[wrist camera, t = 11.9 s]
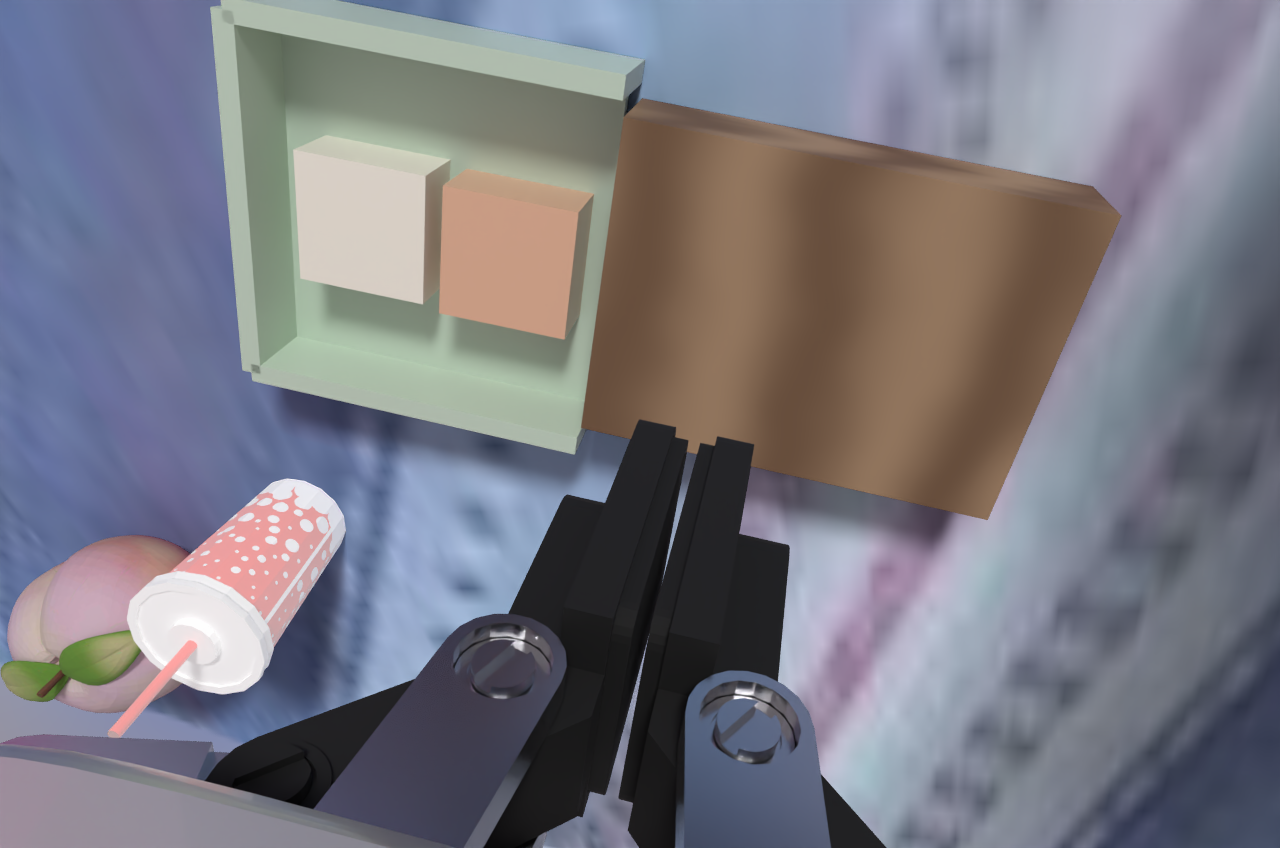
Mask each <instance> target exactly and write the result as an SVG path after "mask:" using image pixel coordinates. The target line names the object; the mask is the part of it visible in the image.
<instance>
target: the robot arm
mask: <svg viewBox="0 0 1280 848" xmlns="http://www.w3.org/2000/svg"><path fill="white" fill-rule="evenodd" d="M675 435H676V427H673V426H669V425H664V424H659V423H655V422H650V421H646V420H641V419H639V420H638V423H637V425H636V427H635V430H634V432H633V435H632V437H631V440H630V442H629V445H628V447H627V450H626V452H625V455H624V457H623V460H622V462H621V465H620V467H619V470H618V472H617V475H616V477H615V480H614V482H613V485H612V487H611V490H610V492H609V495H608V497H607V500H606V502H605V503H602V502H597V501H593V500H589V499H584V498H580V497H576V496H571V495H566V496H565V497H564V498H563V500H562V502H561V503H560V505H559V508H558V510H557V512H556V514H555V516H554V518H553V520H552V522H551V525H550V527H549V529H548V531H547V533H546V535H545V537H544V539H543V541H542V544H541V546H540V548H539V550H538V552H537V554H536V556H535V558H534V560H533V563H532V565H531V567H530V569H529V571H528V573H527V575H526V577H525V580H524V582H523V584H522V586H521V588H520V590H519V592H518V594H517V596H516V599H515V601H514V603H513V605H512V607H511V609H510V611H509V613H508V614H492V615H488V616H483V617H479V618H475V619H473V620H471V621H469V622H467V623H465V624H463V625H461V626H460V627H459V628H457V629H456V630H455V631H454V632H453V633H452V634H451V635H450V636H449V637H448V638H447V639H446V640H445V642H444V643H443V644H442V645H441V647H440V648H439V649H438V651H437V652H436V653H435V654H434V656H433V657H432V658H431V659H430V661H429V662H428V663H427V665H426V666H425V667H424V668H423V670H422V671H421V672H420V674H419V675H418V676H417V677H416V679H414V680H411V681H408V682H405V683H403V684H400V685H397V686H395V687H392V688H389V689H386V690H384V691H381V692H378V693H376V694H373V695H370V696H368V697H365V698H362V699H359V700H357V701H354V702H351V703H349V704H346V705H343V706H340V707H338V708H335V709H332V710H330V711H327V712H324V713H321V714H319V715H316V716H313V717H311V718H308V719H305V720H302V721H300V722H297V723H294V724H292V725H289V726H286V727H284V728H281V729H278V730H275V731H273V732H270V733H267V734H265V735H262V736H259V737H257V738H255V739H253V740H251V741H249V742H247V743H245V744H243V745H241V746H239V747H237V748H235V749H234V750H233V751H231V752H230V753H224V752H223V753H222V752H214V749H213V744H212V742H197V741H175V740H154V739H132V738H110V737H109V738H108V737H88V736H67V735H45V734H43V735H33V736H23V737H17V738H14V739H11V740H8V741H6V742H3V743H0V848H543V845H544V842H545V838H546V834H547V831H549V830H551V829H553V828H555V827H557V826H559V825H561V824H563V823H565V822H567V821H569V820H571V819H573V818H575V817H577V816H579V817H583V814H584V810H585V807H586V803H587V800H588V796H589V793H590V791H591V792H595V793H598V794H602V795H605V794H606V791H607V788H608V784H609V781H610V777H611V773H612V769H613V766H614V762H615V758H616V755H617V751H618V747H619V744H620V740H621V736H622V732H623V729H624V725H625V721H626V718H627V714H628V710H629V707H630V703H631V699H632V696H633V692H634V688H635V684H636V681H637V677H638V673H639V670H640V666H641V662H642V659H643V655H644V651H645V647H646V644H647V647H646V652H645V658H644V663H643V668H642V674H641V679H640V685H639V690H638V695H637V701H636V706H635V711H634V717H633V722H632V728H631V733H630V738H629V744H628V749H627V754H626V760H625V765H624V771H623V776H622V781H621V787H620V792H619V799H621V800H625V801H629V802H633V807H632V812H631V817H630V822H629V827H628V831H629V833H630V834H631V836H632V837H633V839H634V840H635V842H636V843H637V845H638V846H639V848H886V847H885V846H884V844H883V843H882V842H881V841H880V840H879V839H878V838H877V837H876V835H875V834H874V833H873V832H872V831H871V830H870V829H869V828H868V826H867V825H866V824H865V823H864V822H863V821H862V820H861V819H860V817H859V816H858V815H857V814H856V813H855V812H854V811H853V810H852V809H851V807H850V806H849V805H848V804H847V803H846V802H845V801H844V800H843V798H842V797H841V796H840V795H839V794H838V793H837V792H836V791H835V789H834V788H833V787H832V786H831V785H830V784H829V783H828V782H827V780H826V779H825V778H824V777H823V776H822V775H821V773H820V766H819V758H818V751H817V744H816V737H815V730H814V726H813V723H812V720H811V717H810V714H809V712H808V710H807V709H806V707H805V706H804V705H803V703H802V702H801V700H800V699H799V697H798V696H796V695H795V694H794V693H793V692H792V691H790V690H789V689H788V688H787V687H786V686H784V685H783V684H781V683H779V682H778V673H779V662H780V651H781V640H782V629H783V619H784V608H785V597H786V586H787V575H788V564H789V550H790V548H789V545H786V544H781V543H777V542H773V541H768V540H764V539H759V538H755V537H751V536H746V535H742V534H739V531H740V526H741V520H742V514H743V508H744V502H745V497H746V491H747V485H748V479H749V473H750V468H751V462H752V456H753V450H754V444H751V443H747V442H742V441H738V440H733V439H728V438H724V437H719V436H717V439H716V443H715V446H713V445H709V444H704V443H700V446H699V449H698V453H697V457H696V460H695V464H694V468H693V471H692V475H691V479H690V482H689V486H688V490H687V494H686V497H685V501H684V505H683V508H682V512H681V516H680V519H679V523H678V527H677V530H676V534H675V538H674V541H673V545H672V549H671V552H670V556H669V560H668V564H667V567H666V571H665V575H664V570H665V565H666V559H667V554H668V549H669V544H670V538H671V533H672V528H673V522H674V517H675V512H676V507H677V501H678V496H679V491H680V485H681V480H682V475H683V469H684V464H685V459H686V454H687V448H688V442H689V440H686V439H681V438H677V437H675ZM663 575H664V578H663ZM662 581H663V582H662ZM661 585H662V586H661ZM648 636H649V637H648ZM647 640H648V642H647Z"/></svg>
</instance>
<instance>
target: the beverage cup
mask: <svg viewBox="0 0 1280 848" xmlns="http://www.w3.org/2000/svg"><path fill="white" fill-rule="evenodd" d="M345 532H346V528H345V522H344V516H343V514H342V512H341V511H340V509H339V507H338V506H337V504H336V502H335V501H334V500H333V499H332V498H331V497H330V496H328V495H327V494H326V493H325V492H324V491H323V490H322V489H320V488H318V487H316V486H314V485H312V484H310V483H308V482H305V481H301V480H294V479H284V480H280V481H276V482H272V483H271V484H270V485H269V486H268V487H267V488H266V489H264V490H263V491H262V492H261V493H260V494H259V495H258V496H256V497H255V498H254V499H253V500H252V501H251V502H250V503H248V504H247V505H246V506H245V507H244V508H243V509H242V510H240V511H239V512H238V513H237V514H236V515H235V516H234V517H232V518H231V519H230V520H229V521H228V522H227V523H226V524H224V525H223V526H222V527H221V528H220V529H219V530H218V531H216V532H215V533H214V534H213V535H212V536H211V537H210V538H208V539H207V540H206V541H205V542H204V543H203V544H201V545H200V546H199V547H198V548H197V549H196V550H195V551H193V552H192V553H191V554H190V555H189V556H188V557H187V558H185V559H184V560H183V561H182V562H181V563H180V564H179V565H177V566H176V567H175V568H174V569H173V570H172V571H171V572H169V573H167V574H163V575H158V576H156V577H155V578H154V579H153V580H152V581H151V582H150V583H148V584H147V585H146V586H145V587H144V588H143V589H142V590H141V591H139V592H138V593H137V594H136V595H135V596H134V597H133V598H132V599H131V600H130V604H129V609H128V615H127V622H128V625H129V628H130V631H131V634H132V637H133V640H134V641H135V643H136V644H137V645H138V647H139V648H140V649H141V651H142V652H143V653H144V654H145V656H146V657H147V658H148V660H149V661H150V662H151V663H153V664H154V665H155V666H157V667H158V668H159V669H160V670H162V671H161V672H160V673H159V674H158V675H157V676H156V678H155V679H154V680H153V681H152V682H151V683H150V684H149V685H148V687H147V688H146V689H145V690H144V691H143V692H142V693H141V695H140V696H139V697H138V698H137V699H136V700H135V701H134V703H133V704H132V705H131V706H130V707H129V708H128V709H127V711H126V712H125V713H124V714H123V715H122V716H121V718H120V719H119V720H118V721H117V722H116V723H115V724H114V725H113V727H112V728H111V729H110V730H109V731H108V736H109V737H110V738H120V737H121V736H122V735H123V734H124V732H125V731H126V730H127V729H128V728H129V726H130V725H131V724H132V723H133V722H134V721H135V720H136V718H137V717H138V716H139V715H140V714H141V713H142V711H143V710H144V709H145V708H146V707H147V706H148V704H149V703H150V702H151V701H152V700H153V699H154V697H155V696H156V695H157V694H158V693H159V692H160V690H161V689H162V688H163V687H164V686H165V685H166V683H167V682H168V681H169V680H170V679H171V678H172V679H174V680H176V681H179V682H181V683H183V684H185V685H187V686H190V687H192V688H194V689H196V690H200V691H206V692H212V693H217V694H229V693H235V692H241V691H245V690H246V689H248V688H249V687H250V686H252V685H253V684H254V683H256V682H257V681H258V680H259V679H260V678H261V677H262V675H263V672H264V669H266V668H267V667H268V666H269V663H270V660H271V657H272V653H273V650H274V646H275V645H276V643H277V642H278V640H279V638H280V637H281V635H282V634H283V632H284V631H285V629H286V628H287V626H288V625H289V623H290V622H291V620H292V618H293V617H294V615H295V614H296V612H297V611H298V609H299V608H300V606H301V605H302V603H303V601H304V600H305V598H306V597H307V595H308V594H309V592H310V591H311V589H312V588H313V586H314V585H315V583H316V581H317V580H318V578H319V577H320V575H321V574H322V572H323V571H324V569H325V568H326V566H327V564H328V563H329V561H330V560H331V558H332V557H333V555H334V554H335V552H336V551H337V549H338V547H339V546H340V544H341V543H342V540H343V537H344V534H345Z"/></svg>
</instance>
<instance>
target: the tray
mask: <svg viewBox="0 0 1280 848" xmlns="http://www.w3.org/2000/svg"><path fill="white" fill-rule="evenodd" d="M210 9H211V20H212V31H213V42H214V54H215V65H216V76H217V88H218V99H219V110H220V122H221V133H222V144H223V156H224V167H225V178H226V189H227V201H228V212H229V223H230V235H231V246H232V257H233V269H234V280H235V291H236V303H237V314H238V325H239V336H240V348H241V359H242V370H243V371H248V372H252V381H255V382H260V383H264V384H268V385H273V386H277V387H281V388H286V389H290V390H295V391H299V392H303V393H308V394H312V395H316V396H321V397H325V398H330V399H334V400H338V401H343V402H347V403H351V404H356V405H360V406H365V407H369V408H373V409H378V410H382V411H386V412H391V413H395V414H399V415H404V416H408V417H413V418H417V419H421V420H426V421H430V422H434V423H439V424H443V425H448V426H452V427H456V428H461V429H465V430H469V431H474V432H478V433H482V434H487V435H491V436H496V437H500V438H504V439H509V440H513V441H517V442H522V443H526V444H531V445H535V446H539V447H544V448H548V449H552V450H557V451H561V452H566V453H570V454H574V455H575V453H576V451H577V449H578V447H579V444H580V442H581V440H582V438H583V436H584V434H585V431H586V429H584V428H581V423H582V416H583V409H584V402H585V394H586V387H587V380H588V372H589V365H590V358H591V351H592V343H593V336H594V329H595V321H596V314H597V307H598V300H599V292H600V285H601V278H602V270H603V263H604V256H605V249H606V241H607V234H608V227H609V219H610V212H611V205H612V198H613V190H614V183H615V176H616V168H617V161H618V154H619V147H620V139H621V132H622V125H623V117H624V116H625V115H626V112H627V105H628V98H629V95H630V94H631V93H632V92H633V91H634V90H635V89H636V88H637V87H638V86H639V85H640V84H642V78H643V71H644V64H645V60H644V59H639V58H634V57H628V56H623V55H618V54H613V53H608V52H602V51H597V50H592V49H587V48H582V47H576V46H571V45H566V44H561V43H556V42H550V41H545V40H540V39H535V38H530V37H524V36H519V35H514V34H509V33H504V32H498V31H493V30H488V29H483V28H478V27H472V26H467V25H462V24H457V23H452V22H446V21H441V20H436V19H431V18H426V17H420V16H415V15H410V14H405V13H400V12H394V11H389V10H384V9H379V8H374V7H368V6H363V5H358V4H353V3H348V2H343V1H337V0H221V6H214V7H210ZM325 135H328V136H333V137H339V138H344V139H349V140H354V141H359V142H364V143H369V144H374V145H379V146H384V147H389V148H395V149H400V150H405V151H410V152H415V153H420V154H425V155H430V156H435V157H440V158H445V159H450V160H451V163H450V180H451V179H453V178H454V177H456V176H457V175H458V174H460V173H461V172H463V171H464V170H466V169H471V170H477V171H482V172H487V173H492V174H497V175H502V176H507V177H512V178H517V179H522V180H527V181H532V182H537V183H542V184H547V185H553V186H558V187H563V188H568V189H573V190H578V191H583V192H588V193H593V194H594V199H593V208H592V216H591V225H590V233H589V242H588V250H587V258H586V267H585V275H584V284H583V292H582V301H581V309H580V315H579V317H578V318H577V320H576V322H575V323H574V325H573V327H572V328H571V330H570V331H569V333H568V335H567V336H566V338H565V340H564V339H559V338H554V337H549V336H545V335H540V334H535V333H530V332H526V331H521V330H516V329H512V328H507V327H502V326H497V325H493V324H488V323H483V322H478V321H474V320H469V319H464V318H460V317H455V316H450V315H445V314H441V313H439V297H440V288H439V289H438V290H437V291H436V292H435V293H434V294H433V295H432V296H431V297H430V298H429V299H428V300H427V301H426V302H425V303H424V304H418V303H414V302H409V301H404V300H399V299H395V298H390V297H385V296H380V295H376V294H371V293H366V292H361V291H357V290H352V289H347V288H343V287H338V286H333V285H328V284H324V283H319V282H314V281H309V280H305V279H300V262H299V244H298V226H297V208H296V190H295V173H294V155H293V150H294V149H296V148H298V147H300V146H303V145H305V144H307V143H309V142H312V141H314V140H316V139H319V138H321V137H323V136H325Z"/></svg>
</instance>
